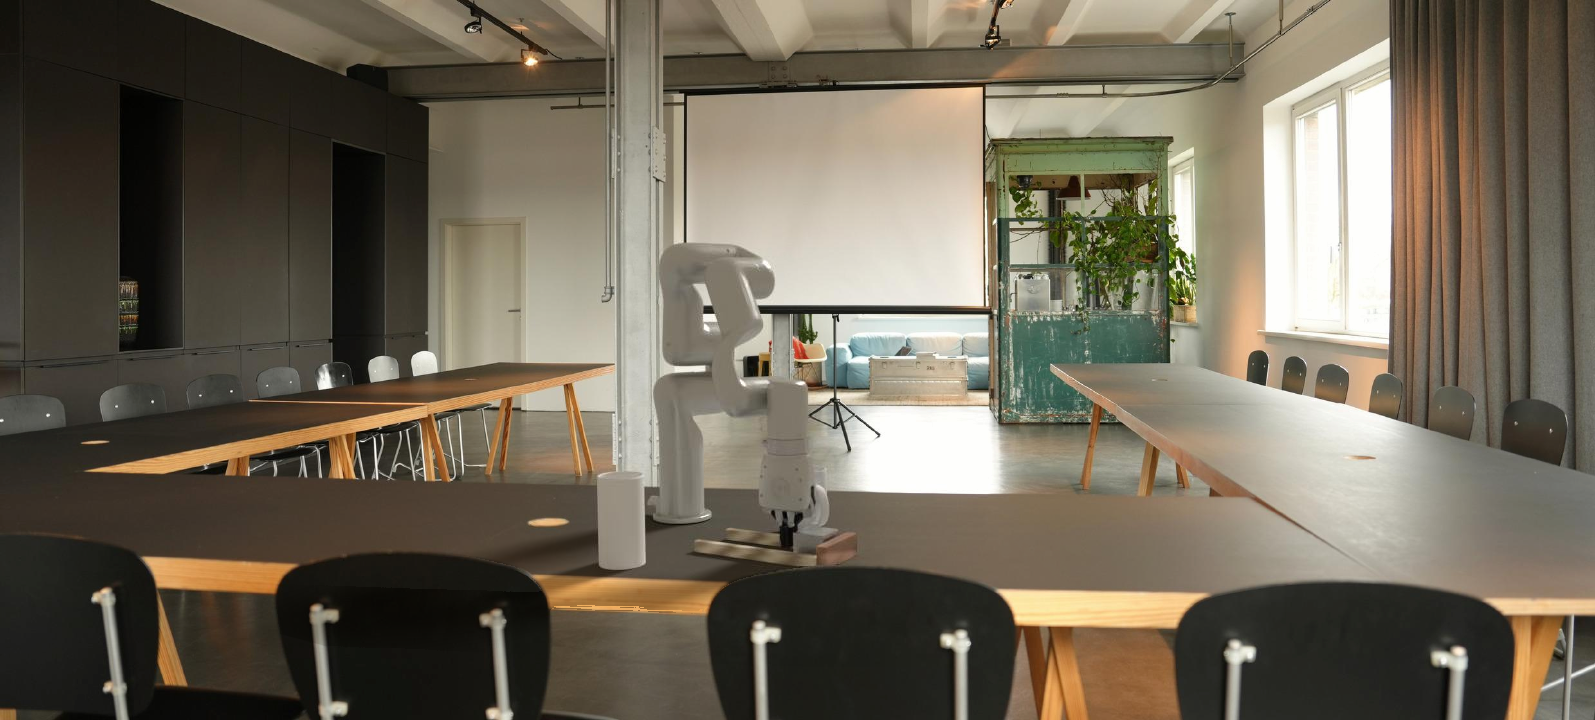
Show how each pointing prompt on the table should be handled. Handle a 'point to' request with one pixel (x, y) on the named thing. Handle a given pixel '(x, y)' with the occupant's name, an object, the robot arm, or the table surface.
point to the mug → (819, 500)
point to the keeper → (812, 538)
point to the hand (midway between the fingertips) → (788, 546)
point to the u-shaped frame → (825, 553)
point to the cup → (621, 520)
